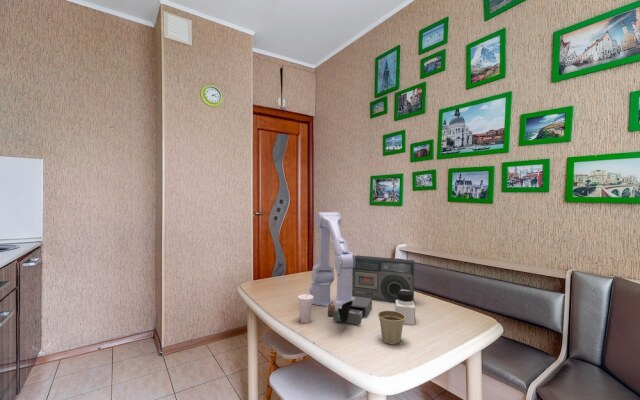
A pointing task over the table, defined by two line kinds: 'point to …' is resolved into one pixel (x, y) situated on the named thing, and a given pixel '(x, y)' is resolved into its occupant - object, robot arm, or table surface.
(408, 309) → the medicine bottle
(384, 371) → the table surface
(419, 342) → the table surface
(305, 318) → the smoothie
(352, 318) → the tray
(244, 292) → the table surface
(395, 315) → the flower pot
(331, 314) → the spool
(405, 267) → the cassette player
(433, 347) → the table surface
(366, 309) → the disc
